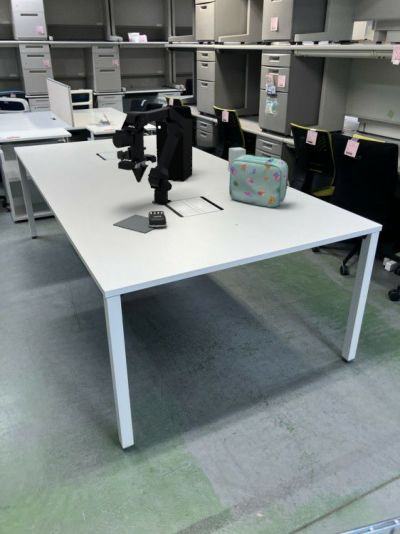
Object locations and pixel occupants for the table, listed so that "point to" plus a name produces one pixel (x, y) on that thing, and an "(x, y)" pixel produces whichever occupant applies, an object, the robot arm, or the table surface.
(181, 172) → the video game console
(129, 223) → the mat
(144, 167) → the robot arm
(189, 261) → the table surface
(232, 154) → the supplement box
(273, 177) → the lunch box
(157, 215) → the battery charger
